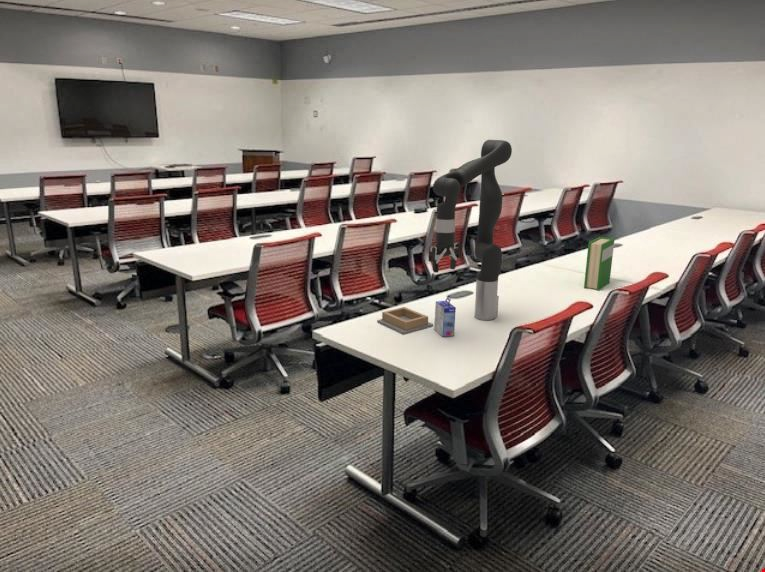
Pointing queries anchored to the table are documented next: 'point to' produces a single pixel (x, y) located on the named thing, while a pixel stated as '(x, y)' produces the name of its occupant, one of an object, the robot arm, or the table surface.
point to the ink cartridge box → (445, 318)
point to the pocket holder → (404, 320)
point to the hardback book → (599, 263)
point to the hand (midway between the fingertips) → (444, 270)
